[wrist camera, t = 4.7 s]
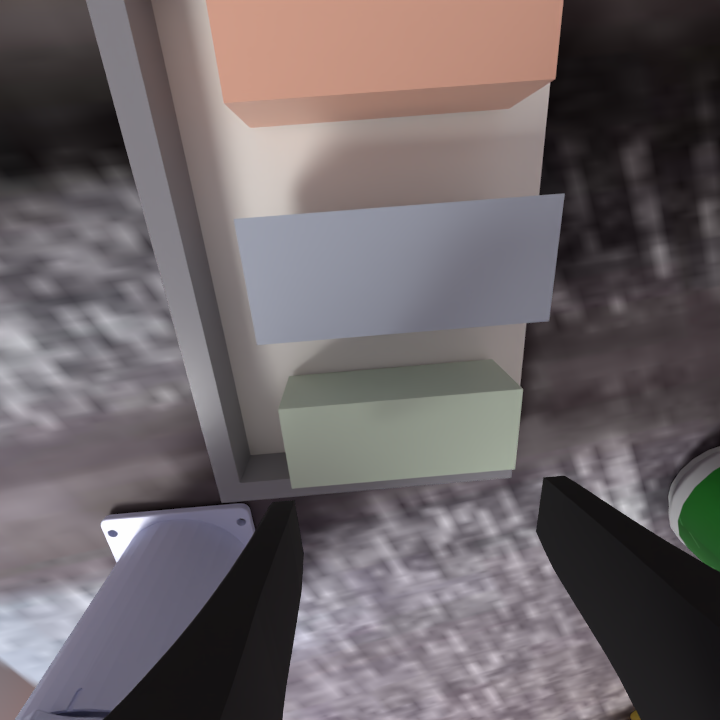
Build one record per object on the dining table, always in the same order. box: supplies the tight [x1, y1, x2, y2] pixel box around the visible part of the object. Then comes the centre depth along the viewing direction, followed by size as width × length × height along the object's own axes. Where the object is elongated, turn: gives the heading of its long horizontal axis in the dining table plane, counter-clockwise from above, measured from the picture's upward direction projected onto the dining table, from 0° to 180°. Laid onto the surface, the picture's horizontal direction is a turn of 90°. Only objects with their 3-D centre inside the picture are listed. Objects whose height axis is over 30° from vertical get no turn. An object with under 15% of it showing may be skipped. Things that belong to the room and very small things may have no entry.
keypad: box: [86, 0, 550, 503], centre depth 14 cm, size 20×14×3 cm
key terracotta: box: [206, 0, 564, 128], centre depth 11 cm, size 4×9×3 cm, turn 94°
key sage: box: [278, 359, 523, 489], centre depth 15 cm, size 4×9×3 cm, turn 94°
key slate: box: [234, 193, 565, 345], centre depth 12 cm, size 4×9×3 cm, turn 94°
